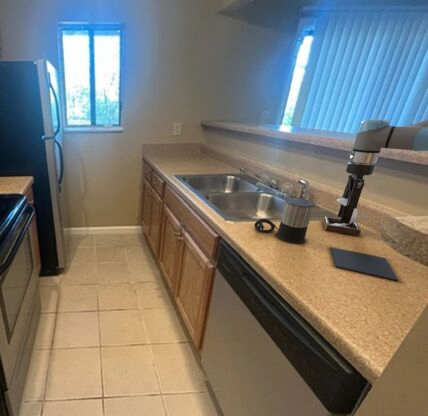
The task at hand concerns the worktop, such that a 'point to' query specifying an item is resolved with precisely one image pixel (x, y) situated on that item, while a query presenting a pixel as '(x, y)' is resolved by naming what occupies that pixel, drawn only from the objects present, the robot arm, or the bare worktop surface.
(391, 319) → the worktop surface
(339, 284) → the worktop surface
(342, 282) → the worktop surface
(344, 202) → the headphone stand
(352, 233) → the tray
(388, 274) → the mat
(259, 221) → the milk frother
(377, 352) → the worktop surface
